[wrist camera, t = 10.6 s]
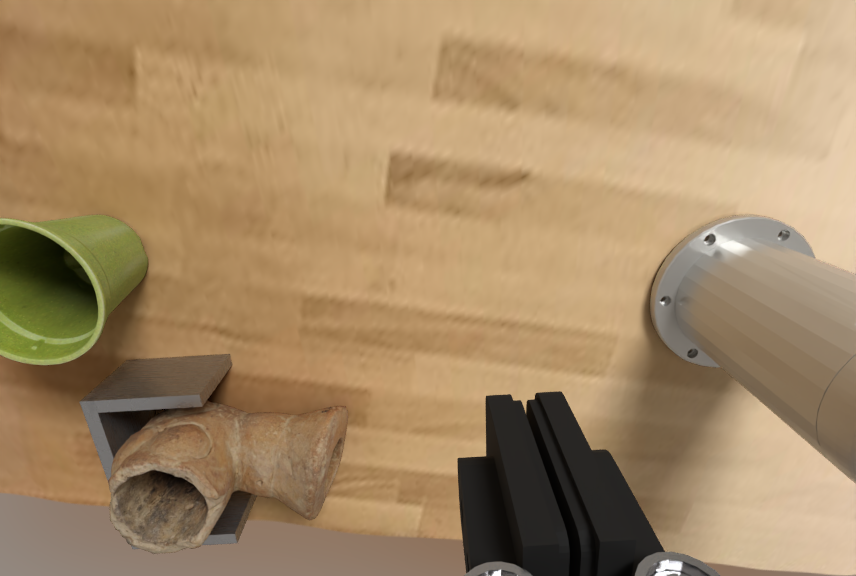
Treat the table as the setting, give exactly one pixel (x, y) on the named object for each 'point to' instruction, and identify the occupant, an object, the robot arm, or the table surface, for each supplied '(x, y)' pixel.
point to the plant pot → (63, 284)
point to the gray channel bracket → (134, 407)
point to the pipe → (219, 469)
